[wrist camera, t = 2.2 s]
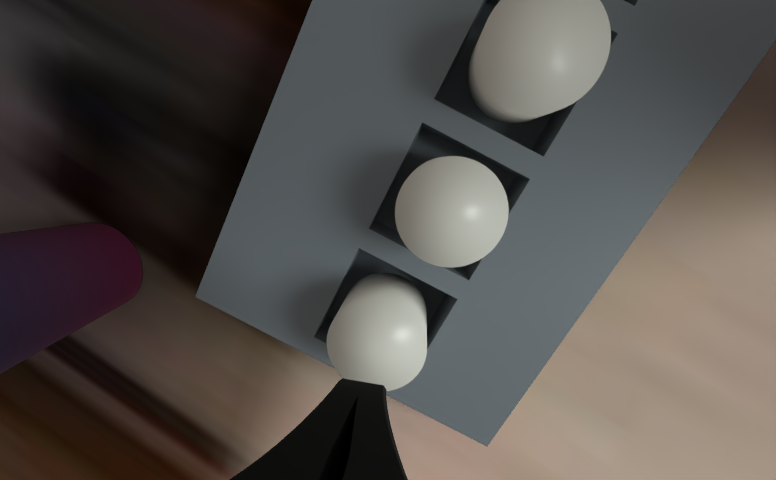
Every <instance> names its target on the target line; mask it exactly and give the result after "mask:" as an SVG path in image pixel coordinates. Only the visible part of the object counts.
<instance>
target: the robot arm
mask: <svg viewBox="0 0 776 480" xmlns="http://www.w3.org/2000/svg"><path fill="white" fill-rule="evenodd" d="M230 480H408V479H407V477H406V474H405V471H404V469H403V466H402V463H401V460H400V457H399V454H398V451H397V447H396V444H395V440H394V437H393V433H392V429H391V425H390V420H389V415H388V409H387V401H386V388H385V387H384V385H379V384H373V383H367V382H361V381H355V380H349V379H344V378H343V379H341V380H340V381H339V382H338V383H337V384H336V385H335V387H334V388H333V389H332V390H331V392H330V393H329V394H328V395H327V396H326V397H325V398H324V400H323V401H322V402H321V403H320V404H319V405H318V406H317V407H316V408H315V409H314V410H313V411H312V412H311V413H310V414H309V415H308V416H307V417H306V418H305V419H304V420H303V421H302V422H301V423H300V424H299V425H298V426H297V427H296V428H295V429H294V430H293V431H291V432H290V433H289V434H288V435H287V436H286V437H285V438H284V439H283V440H281V441H280V442H279V443H278V444H277V445H276V446H274V447H273V448H272V449H271V450H269V451H268V452H267V453H266V454H264V455H263V456H262V457H261V458H259V459H258V460H257V461H255V462H254V463H253V464H251V465H250V466H249V467H247V468H246V469H244V470H243V471H241V472H240V473H238V474H237V475H236V476H234V477H233V478H231V479H230Z"/></svg>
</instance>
